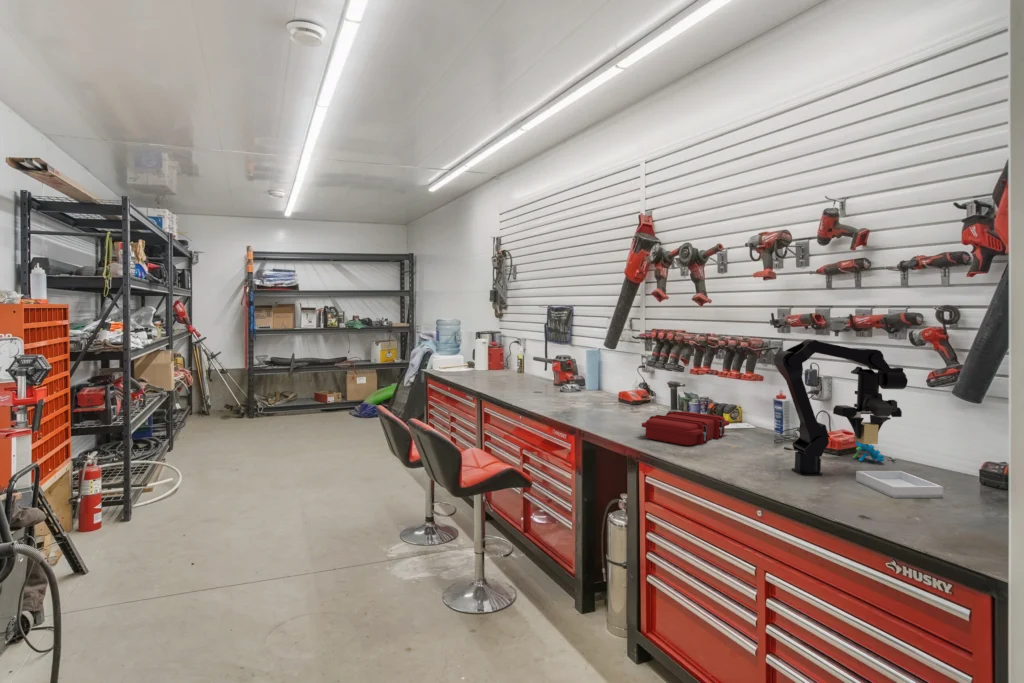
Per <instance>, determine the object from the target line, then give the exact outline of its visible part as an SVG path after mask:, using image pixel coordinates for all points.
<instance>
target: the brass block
mask: <svg viewBox="0 0 1024 683" xmlns="http://www.w3.org/2000/svg"><path fill="white" fill-rule="evenodd" d="M878 426H879V425H878V424H874V423H871V422H870V421H862V422H861V437H860V439H858V438H857V437H856V435H855V434H854V441H856V442H859V443H862V444H868V445H878V444H879V432H878ZM856 442H855V443H856Z"/></svg>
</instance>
